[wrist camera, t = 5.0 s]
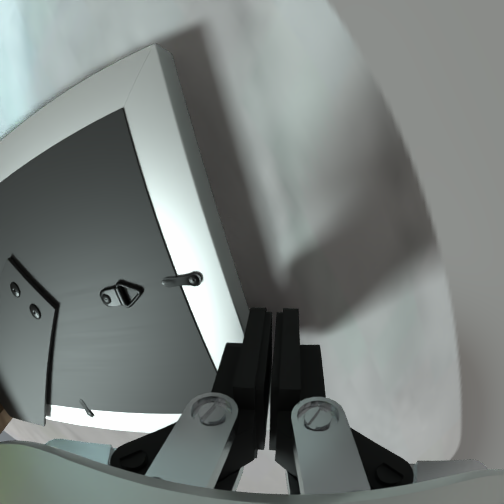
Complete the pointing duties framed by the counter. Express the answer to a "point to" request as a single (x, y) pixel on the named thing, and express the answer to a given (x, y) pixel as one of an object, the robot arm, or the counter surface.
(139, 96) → the picture frame
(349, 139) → the counter surface
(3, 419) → the walnut shelf
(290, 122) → the counter surface
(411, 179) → the counter surface
